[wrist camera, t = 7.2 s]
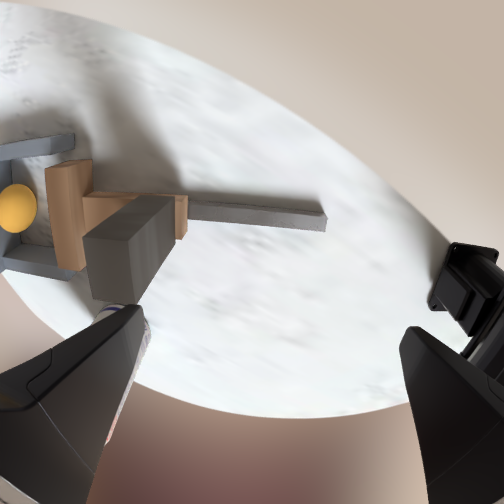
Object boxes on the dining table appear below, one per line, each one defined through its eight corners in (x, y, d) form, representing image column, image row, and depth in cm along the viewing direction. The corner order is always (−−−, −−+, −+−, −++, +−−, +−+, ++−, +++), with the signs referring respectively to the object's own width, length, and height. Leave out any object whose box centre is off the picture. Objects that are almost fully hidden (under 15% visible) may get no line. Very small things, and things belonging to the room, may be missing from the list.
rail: (324, 213, 20) (327, 217, 19) (322, 226, 20) (324, 231, 19) (170, 199, 20) (166, 203, 19) (170, 213, 20) (166, 217, 19)
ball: (28, 176, 20) (38, 181, 18) (33, 219, 21) (45, 230, 19) (-10, 187, 17) (-6, 194, 15) (-3, 231, 18) (3, 244, 16)
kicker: (188, 159, 17) (134, 189, 10) (187, 262, 20) (149, 341, 13) (70, 160, 17) (-14, 191, 10) (78, 250, 20) (15, 309, 13)
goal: (74, 133, 17) (20, 143, 12) (85, 263, 22) (47, 302, 17) (2, 144, 17) (-46, 158, 12) (16, 253, 22) (-21, 283, 17)
